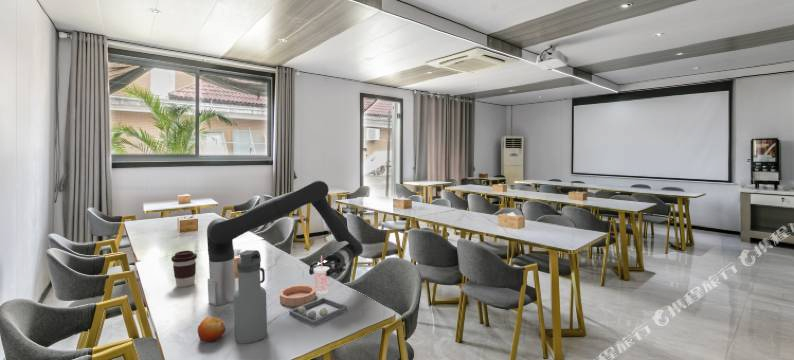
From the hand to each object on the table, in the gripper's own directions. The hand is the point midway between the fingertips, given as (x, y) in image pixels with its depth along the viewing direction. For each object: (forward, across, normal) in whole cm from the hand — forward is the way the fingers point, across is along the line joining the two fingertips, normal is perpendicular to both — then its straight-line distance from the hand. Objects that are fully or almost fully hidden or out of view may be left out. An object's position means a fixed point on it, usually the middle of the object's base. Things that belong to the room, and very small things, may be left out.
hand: (318, 273), depth 135 cm
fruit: (+27, -24, +16) cm, 39 cm away
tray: (0, 0, +15) cm, 15 cm away
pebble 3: (+3, +3, +15) cm, 16 cm away
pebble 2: (+6, 0, +15) cm, 16 cm away
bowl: (-9, -14, +15) cm, 23 cm away
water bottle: (+22, -13, +16) cm, 30 cm away
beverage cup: (-2, 0, +8) cm, 9 cm away
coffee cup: (-12, -72, +16) cm, 75 cm away
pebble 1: (+3, -5, +15) cm, 16 cm away
